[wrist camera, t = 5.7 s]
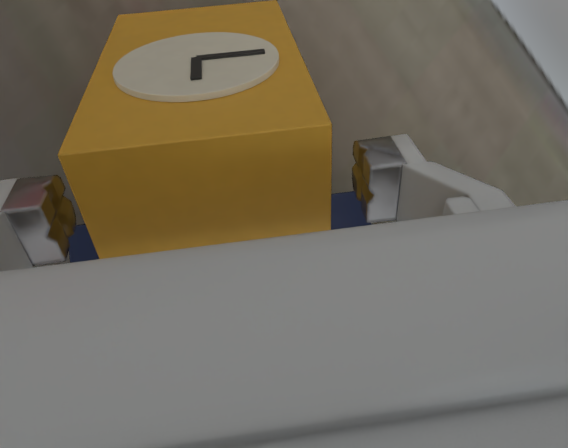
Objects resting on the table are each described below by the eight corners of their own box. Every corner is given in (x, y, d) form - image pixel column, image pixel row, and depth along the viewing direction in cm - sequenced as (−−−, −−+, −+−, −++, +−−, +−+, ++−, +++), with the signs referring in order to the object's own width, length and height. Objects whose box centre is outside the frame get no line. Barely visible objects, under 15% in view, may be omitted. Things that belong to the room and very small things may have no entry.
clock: (305, 266, 21) (351, 257, 11) (162, 285, 21) (69, 294, 11) (274, 37, 22) (289, -169, 12) (137, 51, 22) (29, -151, 12)
